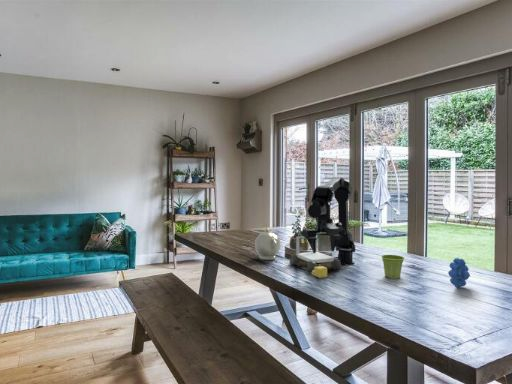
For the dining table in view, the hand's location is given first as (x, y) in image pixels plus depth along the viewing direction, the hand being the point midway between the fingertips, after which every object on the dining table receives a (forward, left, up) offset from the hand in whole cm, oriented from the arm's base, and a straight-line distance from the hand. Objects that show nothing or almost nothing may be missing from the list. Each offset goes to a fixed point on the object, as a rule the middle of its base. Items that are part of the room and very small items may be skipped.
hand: (323, 252), depth 159 cm
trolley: (-7, -18, -11) cm, 22 cm away
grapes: (-39, +35, -11) cm, 54 cm away
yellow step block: (0, -3, -11) cm, 12 cm away
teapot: (+6, -42, -11) cm, 43 cm away
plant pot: (-28, +11, -11) cm, 32 cm away
